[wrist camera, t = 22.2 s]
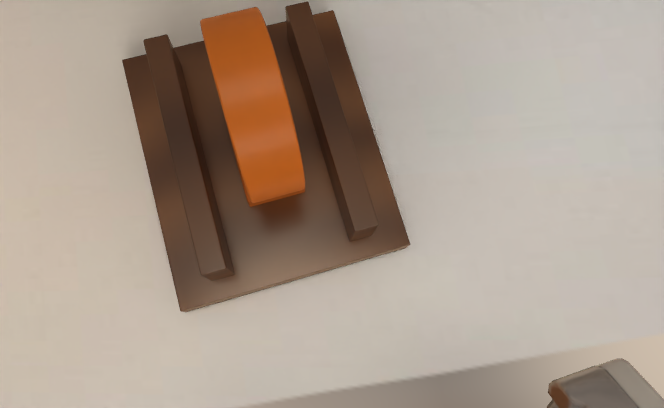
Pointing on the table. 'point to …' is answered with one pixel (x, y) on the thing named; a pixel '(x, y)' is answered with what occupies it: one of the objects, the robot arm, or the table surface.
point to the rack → (224, 178)
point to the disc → (254, 105)
